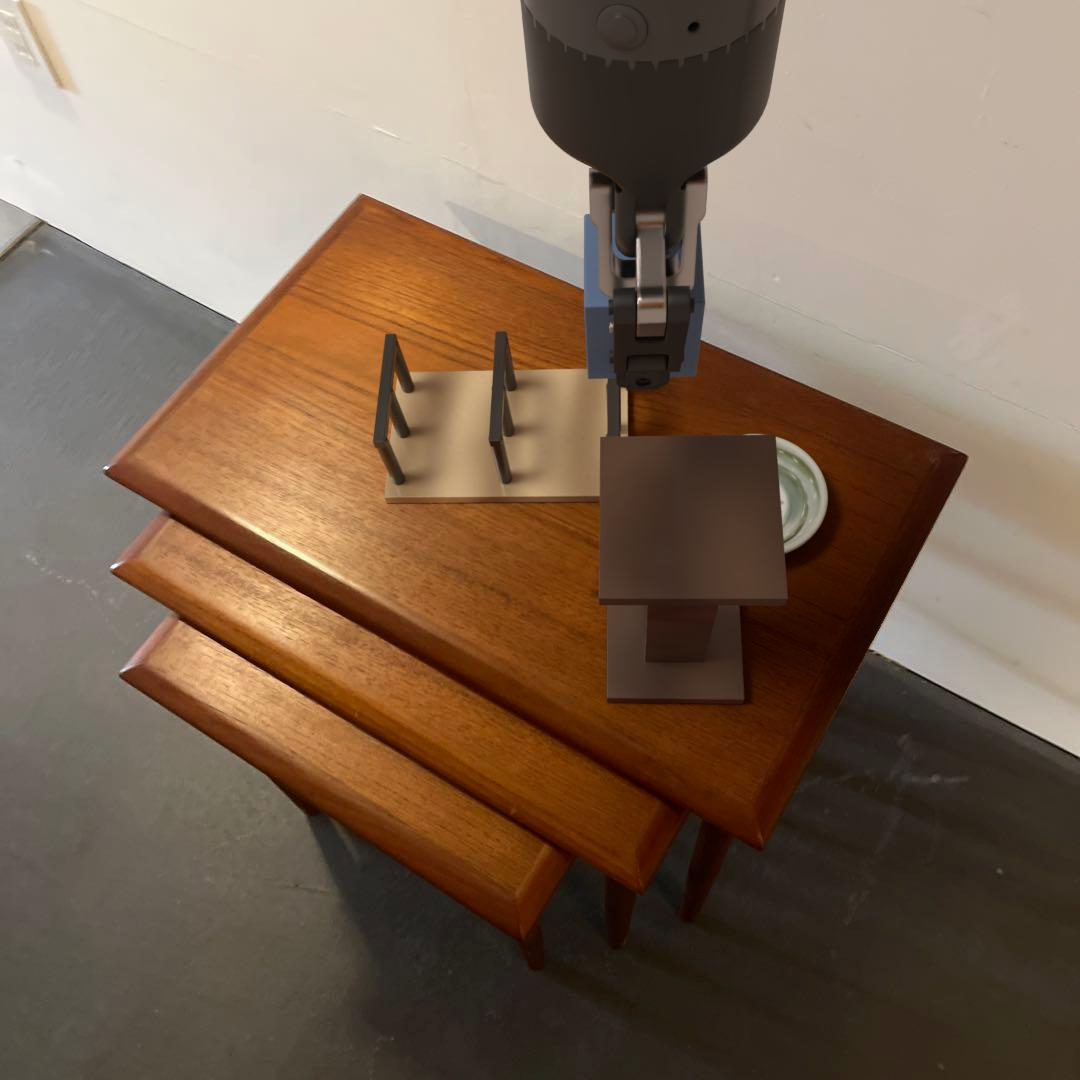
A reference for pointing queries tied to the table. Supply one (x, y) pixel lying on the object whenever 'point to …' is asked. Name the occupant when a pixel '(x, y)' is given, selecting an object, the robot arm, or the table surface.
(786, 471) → the saucer
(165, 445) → the table surface
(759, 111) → the robot arm
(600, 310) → the block
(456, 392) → the rack
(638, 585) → the stand
